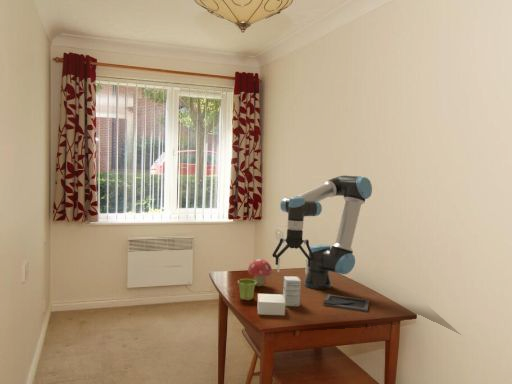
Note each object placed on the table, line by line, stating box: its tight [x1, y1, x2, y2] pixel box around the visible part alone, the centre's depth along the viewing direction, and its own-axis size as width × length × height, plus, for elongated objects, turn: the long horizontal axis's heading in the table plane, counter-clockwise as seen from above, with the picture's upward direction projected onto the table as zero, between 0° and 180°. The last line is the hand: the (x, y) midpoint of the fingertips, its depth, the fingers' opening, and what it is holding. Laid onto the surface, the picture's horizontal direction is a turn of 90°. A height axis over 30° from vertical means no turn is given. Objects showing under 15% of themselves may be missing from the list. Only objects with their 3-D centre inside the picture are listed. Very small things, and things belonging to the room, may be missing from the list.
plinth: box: [256, 293, 286, 316], centre depth 196 cm, size 12×12×6 cm
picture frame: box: [322, 293, 370, 313], centre depth 211 cm, size 16×2×21 cm
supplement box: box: [282, 275, 302, 307], centre depth 206 cm, size 7×7×13 cm
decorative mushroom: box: [247, 258, 273, 287], centre depth 232 cm, size 13×13×15 cm
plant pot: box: [237, 278, 257, 301], centre depth 211 cm, size 9×9×9 cm
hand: (292, 272), depth 205 cm, fingers open, 13 cm apart
